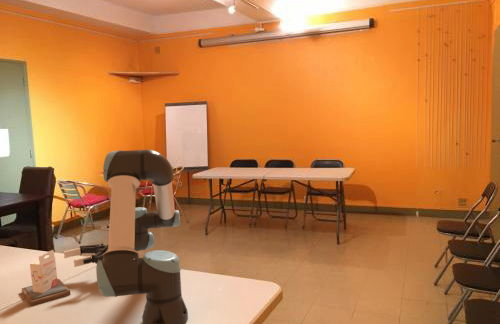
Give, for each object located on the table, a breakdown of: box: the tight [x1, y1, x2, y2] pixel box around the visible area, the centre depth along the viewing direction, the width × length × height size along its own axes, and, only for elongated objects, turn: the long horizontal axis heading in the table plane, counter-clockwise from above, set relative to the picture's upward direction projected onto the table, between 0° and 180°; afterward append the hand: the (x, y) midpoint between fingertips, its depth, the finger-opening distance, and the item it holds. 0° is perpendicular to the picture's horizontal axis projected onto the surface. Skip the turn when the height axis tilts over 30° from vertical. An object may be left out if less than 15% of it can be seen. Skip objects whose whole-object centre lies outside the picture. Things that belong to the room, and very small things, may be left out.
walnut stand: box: [21, 278, 71, 307], centre depth 165 cm, size 16×14×2 cm
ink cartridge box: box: [29, 249, 58, 293], centre depth 164 cm, size 9×5×15 cm, turn 166°
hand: (69, 259), depth 170 cm, fingers open, 13 cm apart
